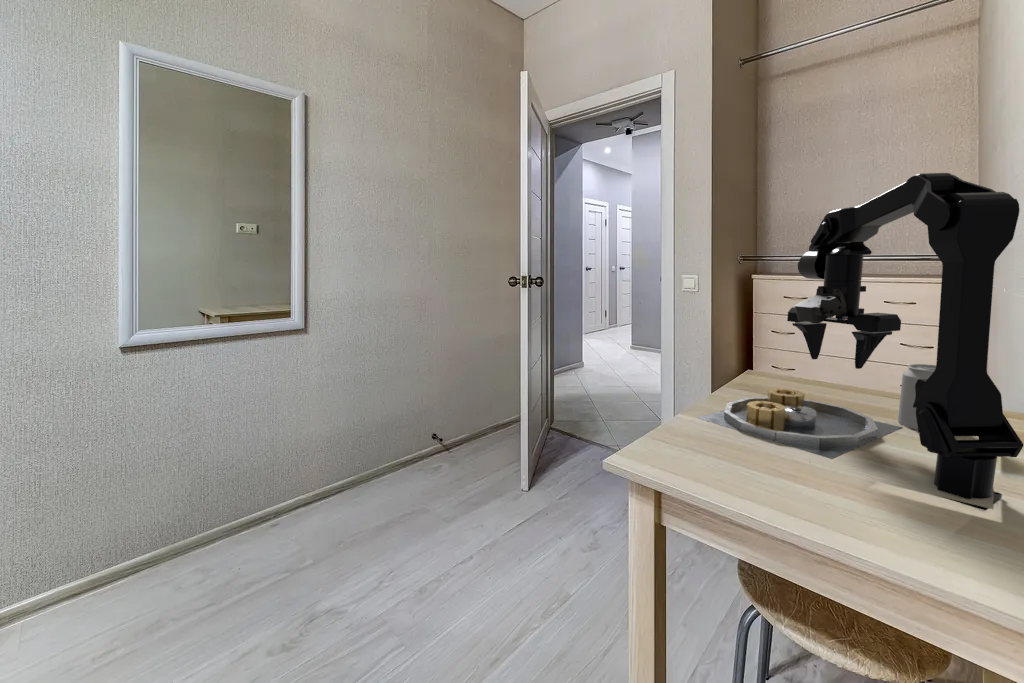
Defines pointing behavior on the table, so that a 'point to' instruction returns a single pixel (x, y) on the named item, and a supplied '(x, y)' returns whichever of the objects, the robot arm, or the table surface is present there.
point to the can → (911, 393)
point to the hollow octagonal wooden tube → (766, 414)
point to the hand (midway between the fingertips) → (835, 363)
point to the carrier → (827, 438)
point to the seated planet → (786, 397)
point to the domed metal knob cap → (799, 416)
